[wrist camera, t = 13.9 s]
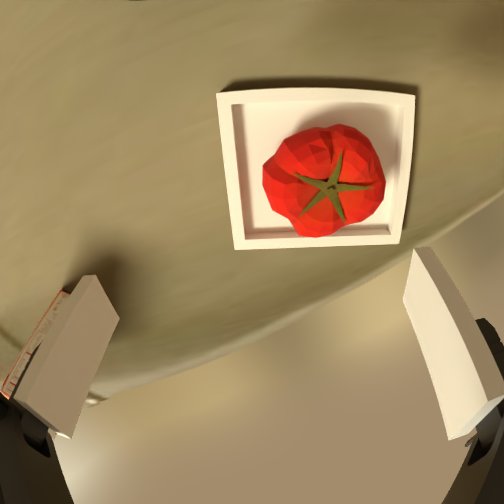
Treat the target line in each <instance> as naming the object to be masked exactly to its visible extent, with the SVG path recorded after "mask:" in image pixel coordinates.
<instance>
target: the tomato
mask: <svg viewBox="0 0 504 504" xmlns="http://www.w3.org/2000/svg"><path fill="white" fill-rule="evenodd" d="M262 186H263V188H264V191H265V193H266V196H267V198H268V201H269V203H270V206H271V208H272V211H274V212H276V213H278V214H280V215H282V216H284V217H285V218H287V219H289V221H290V223H291V224H292V226H293V227H294V229H295V230H296V232H297V233H298V235H299V236H304V237H312V238H318V237H323V236H328V235H332V234H333V233H335V232H336V231H337V230H339V229H340V228H342V227H344V226H346V225H349V224H354V223H359V222H362V221H364V220H365V219H367V218H368V217H370V216H371V215H373V214H374V212H375V211H376V210H377V208H378V207H379V206H380V204H381V203H382V201H383V200H384V194H385V188H386V180H385V176H384V173H383V169H382V166H381V163H380V160H379V157H378V155H377V153H376V151H375V149H374V147H373V146H372V143H371V141H370V140H369V138H367V137H366V136H365V135H364V134H362V133H361V132H360V131H358V130H357V129H356V128H354V127H351V126H347V125H343V124H336V125H332V126H329V127H327V128H321V127H313V128H310V129H306V130H303V131H300V132H298V133H296V134H294V135H292V136H290V137H288V138H285V139H284V140H283V142H282V143H281V145H280V146H279V148H278V149H277V151H276V152H275V154H274V155H273V156H272V157H270V158H269V159H268V160H267V161H266V162H265V163H264V164H263V166H262Z"/></svg>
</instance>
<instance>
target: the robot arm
mask: <svg viewBox="0 0 504 504" xmlns="http://www.w3.org/2000/svg"><path fill="white" fill-rule="evenodd" d="M130 1H141V0H130ZM403 303H404V305H405V308H406V310H407V313H408V315H409V318H410V320H411V323H412V325H413V328H414V330H415V333H416V336H417V338H418V341H419V344H420V347H421V349H422V352H423V355H424V358H425V361H426V363H427V366H428V369H429V372H430V376H431V379H432V382H433V385H434V388H435V391H436V395H437V398H438V401H439V405H440V408H441V412H442V416H443V419H444V423H445V427H446V431H447V435H448V439H449V440H451V439H454V438H457V437H460V436H463V435H465V434H468V433H469V432H470V431H471V430H472V429H473V428H474V427H475V426H476V430H477V434H475V435H474V436H473V437H472V438H471V439H470V440H468V441H467V443H466V444H465V447H468V446H469V445H470V444H471V443H472V444H471V447H470V449H469V451H468V454H467V456H466V458H465V460H464V462H463V464H462V467H461V469H460V471H459V473H458V475H457V477H456V479H455V481H454V482H453V484H452V487H451V488H450V490H449V492H448V494H447V495H446V497H445V499H444V501H443V502H442V504H504V346H503V344H502V342H500V338H499V336H498V334H497V332H496V331H495V328H494V327H493V326H492V325H491V324H490V323H489V322H488V321H487V320H486V319H485V318H482V319H477V320H475V319H474V318H473V316H472V314H471V312H470V310H469V308H468V306H467V305H466V303H465V301H464V300H463V298H462V296H461V294H460V293H459V291H458V289H457V288H456V286H455V284H454V283H453V281H452V279H451V278H450V276H449V275H448V273H447V271H446V270H445V268H444V267H443V265H442V264H441V262H440V260H439V259H438V257H437V256H436V254H435V253H434V251H433V250H432V249H431V247H421V248H414V249H413V255H412V260H411V265H410V270H409V274H408V279H407V284H406V288H405V292H404V296H403ZM119 319H120V318H119V317H118V315H117V313H116V311H115V310H114V308H113V306H112V304H111V302H110V301H109V299H108V297H107V295H106V293H105V292H104V290H103V288H102V286H101V284H100V282H99V280H98V278H97V276H96V275H85V276H83V277H82V278H81V280H80V281H79V283H78V284H77V286H76V287H75V289H74V290H73V292H72V293H71V295H70V296H69V298H68V299H67V301H66V303H65V304H64V306H63V307H62V309H61V310H60V312H59V314H58V315H57V317H56V319H55V320H54V322H53V324H52V325H51V327H50V329H49V330H48V332H47V334H46V336H45V337H44V339H43V341H42V342H41V343H40V344H39V345H38V346H37V347H36V348H35V349H34V351H33V353H32V354H31V356H30V358H29V362H27V364H26V366H25V370H23V371H22V373H21V375H20V377H19V379H18V381H17V383H16V386H15V388H14V390H13V392H12V394H11V396H10V398H9V399H7V398H6V397H5V396H4V395H3V394H2V393H1V392H0V504H74V502H73V500H72V497H71V495H70V492H69V490H68V487H67V484H66V482H65V478H64V476H63V473H62V470H61V467H60V464H59V460H58V457H57V454H56V450H55V447H54V443H53V440H52V437H51V435H50V433H48V429H49V428H50V429H51V430H53V431H54V432H55V433H57V434H59V435H61V436H64V437H67V438H70V439H71V438H72V435H73V432H74V430H75V427H76V424H77V421H78V418H79V416H80V413H81V410H82V407H83V405H84V402H85V399H86V397H87V394H88V392H89V389H90V386H91V384H92V381H93V379H94V376H95V374H96V372H97V369H98V367H99V364H100V362H101V360H102V357H103V355H104V353H105V350H106V348H107V346H108V343H109V341H110V339H111V337H112V334H113V332H114V330H115V328H116V326H117V323H118V321H119Z"/></svg>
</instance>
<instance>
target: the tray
mask: <svg viewBox="0 0 504 504" xmlns="http://www.w3.org/2000/svg"><path fill="white" fill-rule="evenodd" d="M216 97H217V106H218V115H219V124H220V133H221V142H222V150H223V159H224V167H225V176H226V184H227V192H228V200H229V208H230V216H231V224H232V232H233V240H234V247H235V250H244V249H270V248H296V247H323V246H350V245H378V244H399V240H400V235H401V229H402V224H403V218H404V212H405V205H406V199H407V192H408V184H409V176H410V167H411V157H412V146H413V132H414V114H415V95H411V94H407V93H399V92H390V91H381V90H369V89H355V88H334V87H283V88H261V89H247V90H235V91H225V92H218V93H216ZM336 124H343V125H347V126H351V127H354V128H356V129H357V130H358V131H360V132H361V133H362V134H364V135H365V136H366V137H367V138H369V140H370V141H371V143H372V146H373V147H374V149H375V151H376V153H377V155H378V157H379V160H380V163H381V166H382V169H383V173H384V176H385V180H386V188H385V194H384V200H383V201H382V203H381V204H380V206H379V207H378V208H377V210H376V211H375V212H374V214H373V215H371V216H370V217H368V218H367V219H365V220H364V221H362V222H359V223H354V224H349V225H346V226H344V227H342V228H340V229H339V230H337V231H336V232H335V233H333V234H332V235H328V236H323V237H318V238H312V237H304V236H299V235H298V233H297V232H296V230H295V229H294V227H293V226H292V224H291V223H290V221H289V219H287V218H285V217H284V216H282V215H280V214H278V213H276V212H274V211H272V208H271V206H270V203H269V201H268V198H267V196H266V193H265V191H264V188H263V186H262V166H263V164H264V163H265V162H266V161H267V160H268V159H269V158H270V157H272V156H273V155H274V154H275V152H276V151H277V149H278V148H279V146H280V145H281V143H282V142H283V140H284V139H285V138H288V137H290V136H292V135H294V134H296V133H298V132H300V131H303V130H306V129H310V128H313V127H321V128H327V127H329V126H332V125H336Z"/></svg>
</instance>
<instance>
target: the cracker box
mask: <svg viewBox="0 0 504 504" xmlns="http://www.w3.org/2000/svg"><path fill="white" fill-rule="evenodd" d="M70 295H71V294H69V293H66V292H64V291H62V290H60V292H59V293H58V294H57V296H56V297H55V299H54V300H53V302H52V303H51V305H50V306H49V308H48V309H47V311H46V312H45V314H44V315H43V317H42V318H41V320H40V322H39V323H38V325H37V326H36V328H35V329H34V331H33V333H32V334H31V336H30V337H29V339H28V341H27V342H26V344H25V346H24V348H23V349H22V351H21V353H20V354H19V356H18V358H17V360H16V361H15V363H14V365H13V367H12V369H11V370H10V372H9V374H8V376H7V378H6V380H5V382H4V384H3V386H2V388H1V390H0V391H1V393H2V394H3V395H4V396H5V397H6V398H7V399H9V398H10V396H11V394H12V392H13V390H14V388H15V386H16V383H17V381H18V379H19V377H20V375H21V373H22V371H23V370H25V366H26V364H27V362H29V358H30V356H31V354H32V353H33V351H34V349H35V348H36V347H37V346H38V345H39V344H40V343H41V342H42V341H43V339H44V337H45V336H46V334H47V332H48V330H49V329H50V327H51V325H52V324H53V322H54V320H55V319H56V317H57V315H58V314H59V312H60V310H61V309H62V307H63V306H64V304H65V303H66V301H67V299H68V298H69V296H70ZM48 433H50V435H51V437H52V440H54V439H55V436H56V434H57V433H55V432H54V431H53V430H51V429H50V428H49V429H48Z"/></svg>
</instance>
